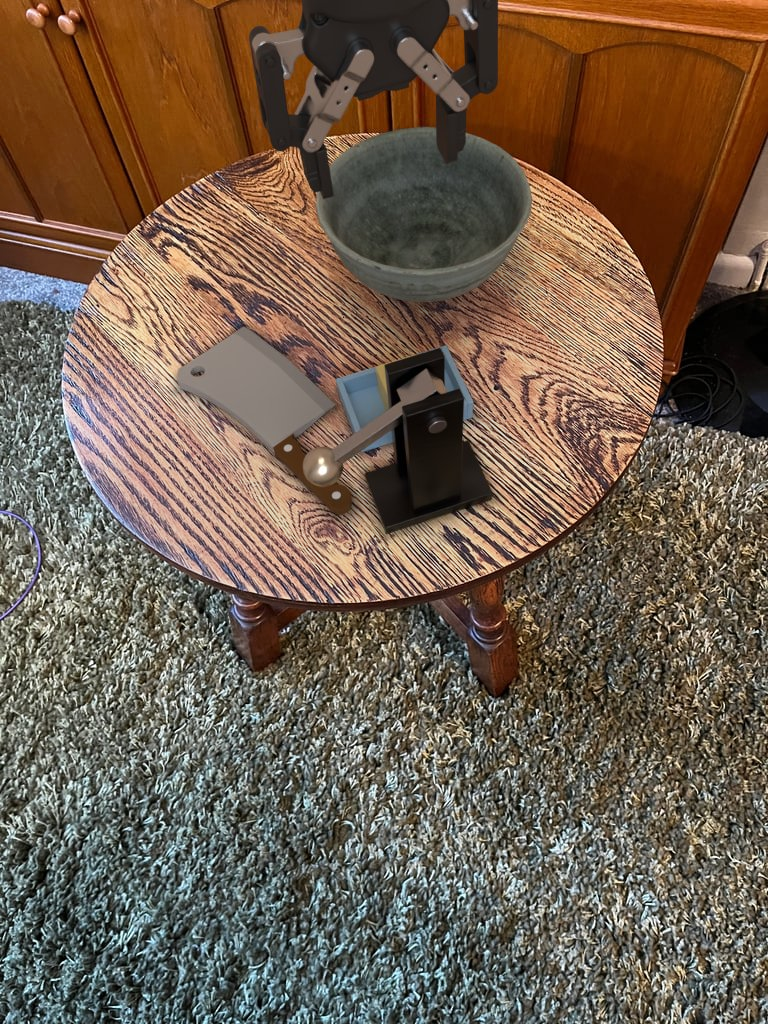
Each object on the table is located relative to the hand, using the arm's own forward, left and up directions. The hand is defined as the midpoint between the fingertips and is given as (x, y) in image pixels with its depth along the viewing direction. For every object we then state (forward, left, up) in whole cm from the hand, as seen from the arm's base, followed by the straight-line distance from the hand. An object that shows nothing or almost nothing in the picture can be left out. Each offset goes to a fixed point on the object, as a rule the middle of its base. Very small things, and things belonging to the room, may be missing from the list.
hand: (385, 173), depth 51 cm
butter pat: (0, 0, -26) cm, 26 cm away
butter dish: (0, 0, -26) cm, 26 cm away
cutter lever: (-5, -9, -16) cm, 19 cm away
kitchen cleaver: (-12, +3, -26) cm, 29 cm away
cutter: (-1, -10, -26) cm, 28 cm away
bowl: (+8, +16, -26) cm, 32 cm away
